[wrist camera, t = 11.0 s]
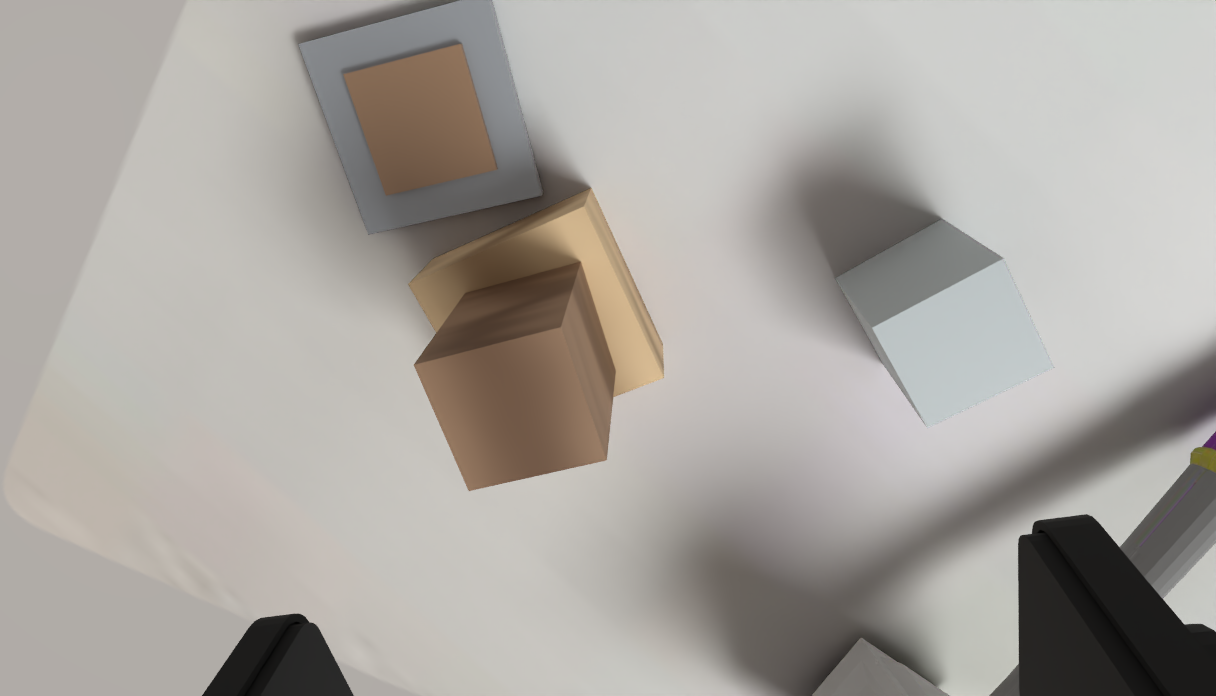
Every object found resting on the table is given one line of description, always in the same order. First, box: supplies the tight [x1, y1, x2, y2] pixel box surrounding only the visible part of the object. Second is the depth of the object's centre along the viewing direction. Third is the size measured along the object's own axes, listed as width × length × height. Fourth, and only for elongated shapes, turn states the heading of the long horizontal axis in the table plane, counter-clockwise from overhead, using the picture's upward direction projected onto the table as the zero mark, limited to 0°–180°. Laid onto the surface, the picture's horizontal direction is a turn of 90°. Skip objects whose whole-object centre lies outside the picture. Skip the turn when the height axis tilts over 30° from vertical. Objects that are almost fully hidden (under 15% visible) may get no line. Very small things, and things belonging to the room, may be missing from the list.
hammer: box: [812, 432, 1216, 696], centre depth 33 cm, size 15×8×30 cm
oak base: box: [408, 188, 664, 397], centre depth 32 cm, size 8×8×4 cm
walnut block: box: [414, 262, 616, 491], centre depth 27 cm, size 5×5×7 cm
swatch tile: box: [298, 0, 543, 235], centre depth 30 cm, size 8×8×1 cm
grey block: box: [835, 219, 1055, 428], centre depth 30 cm, size 5×5×6 cm
